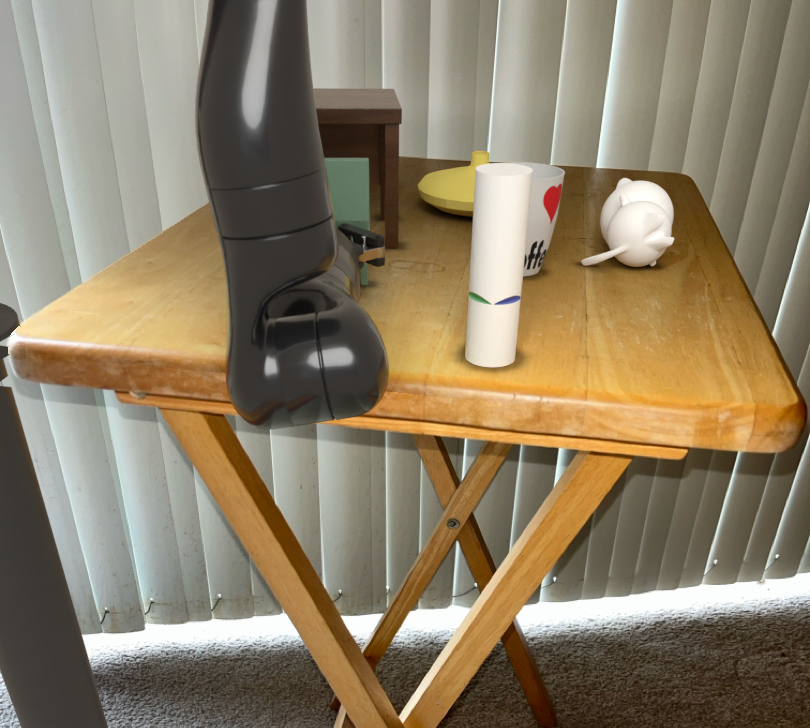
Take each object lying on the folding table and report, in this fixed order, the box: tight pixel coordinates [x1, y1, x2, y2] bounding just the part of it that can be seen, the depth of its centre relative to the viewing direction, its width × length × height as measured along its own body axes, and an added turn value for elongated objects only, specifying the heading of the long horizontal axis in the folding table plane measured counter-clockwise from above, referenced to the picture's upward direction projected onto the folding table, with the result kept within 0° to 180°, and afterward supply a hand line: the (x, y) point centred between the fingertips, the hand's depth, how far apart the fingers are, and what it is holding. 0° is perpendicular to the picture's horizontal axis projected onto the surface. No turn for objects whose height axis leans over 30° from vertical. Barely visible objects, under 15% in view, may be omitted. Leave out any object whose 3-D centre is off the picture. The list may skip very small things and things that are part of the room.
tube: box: [464, 162, 533, 368], centre depth 67 cm, size 4×4×15 cm
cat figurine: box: [580, 177, 675, 268], centre depth 92 cm, size 9×11×12 cm
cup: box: [506, 161, 566, 277], centre depth 88 cm, size 8×8×10 cm
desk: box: [313, 87, 403, 249], centre depth 97 cm, size 14×18×14 cm
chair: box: [324, 158, 371, 286], centre depth 86 cm, size 10×10×12 cm
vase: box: [417, 150, 490, 217], centre depth 108 cm, size 16×16×7 cm
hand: (317, 223), depth 82 cm, fingers closed
